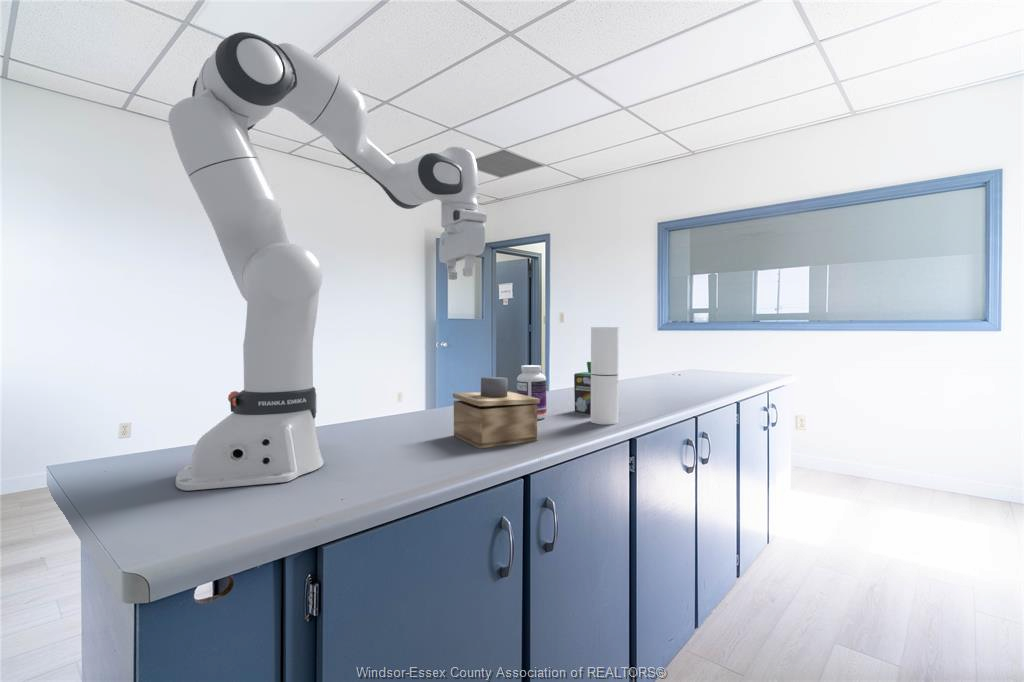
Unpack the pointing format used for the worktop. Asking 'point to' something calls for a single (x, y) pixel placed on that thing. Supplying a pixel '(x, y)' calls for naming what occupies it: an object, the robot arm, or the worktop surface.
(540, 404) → the pill bottle
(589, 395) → the chalk box
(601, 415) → the cylindrical container
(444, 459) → the worktop surface
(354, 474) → the worktop surface
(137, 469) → the worktop surface
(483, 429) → the box
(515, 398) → the lid
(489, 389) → the smooth gray rounded object
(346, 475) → the worktop surface
